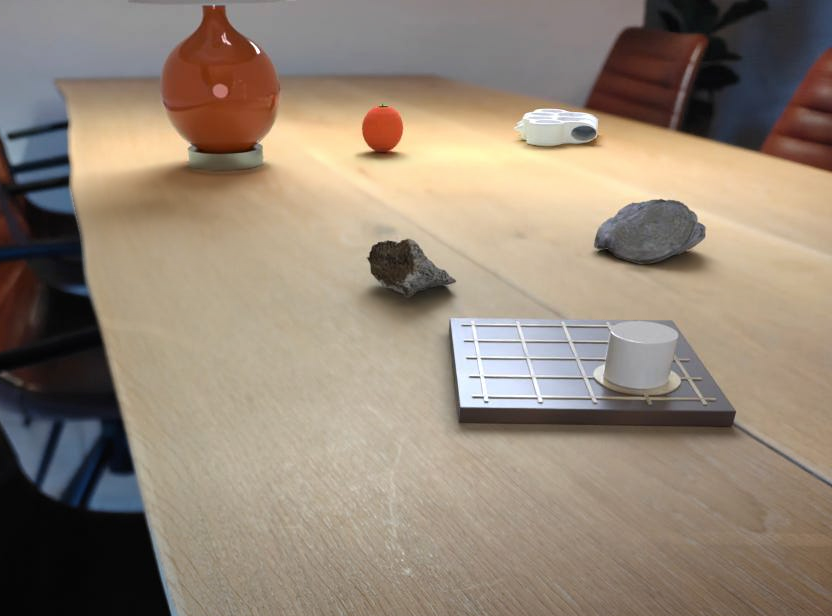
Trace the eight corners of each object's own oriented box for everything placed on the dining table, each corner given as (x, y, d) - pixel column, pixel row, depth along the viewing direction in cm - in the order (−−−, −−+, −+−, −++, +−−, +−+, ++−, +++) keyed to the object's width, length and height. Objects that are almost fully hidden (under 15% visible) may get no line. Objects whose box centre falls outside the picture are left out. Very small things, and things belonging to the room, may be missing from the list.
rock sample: (492, 251, 90) (429, 192, 85) (460, 317, 89) (395, 261, 84) (431, 275, 99) (371, 222, 94) (402, 335, 98) (340, 285, 93)
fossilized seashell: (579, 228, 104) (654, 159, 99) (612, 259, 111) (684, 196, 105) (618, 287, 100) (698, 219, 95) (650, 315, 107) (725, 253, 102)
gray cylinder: (661, 365, 72) (670, 321, 70) (675, 389, 68) (685, 343, 66) (597, 364, 73) (605, 320, 70) (608, 388, 69) (616, 342, 67)
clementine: (362, 147, 158) (362, 99, 153) (402, 147, 158) (403, 99, 153) (361, 155, 152) (361, 106, 147) (402, 155, 151) (404, 106, 147)
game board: (669, 333, 82) (673, 318, 81) (732, 426, 66) (737, 409, 66) (448, 330, 83) (449, 316, 82) (458, 422, 67) (460, 405, 66)
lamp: (120, 173, 141) (72, -158, 117) (191, 146, 159) (162, -145, 136) (267, 183, 134) (247, -166, 111) (323, 153, 153) (317, -151, 129)
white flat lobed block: (595, 147, 156) (509, 144, 159) (596, 130, 170) (518, 128, 173) (598, 125, 154) (511, 122, 157) (599, 110, 168) (520, 108, 171)
